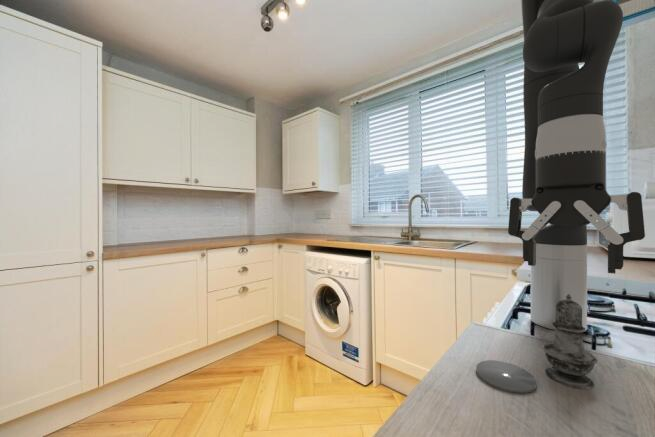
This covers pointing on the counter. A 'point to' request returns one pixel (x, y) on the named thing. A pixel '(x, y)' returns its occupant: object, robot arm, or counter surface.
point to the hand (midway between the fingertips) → (568, 268)
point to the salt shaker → (569, 348)
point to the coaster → (506, 376)
